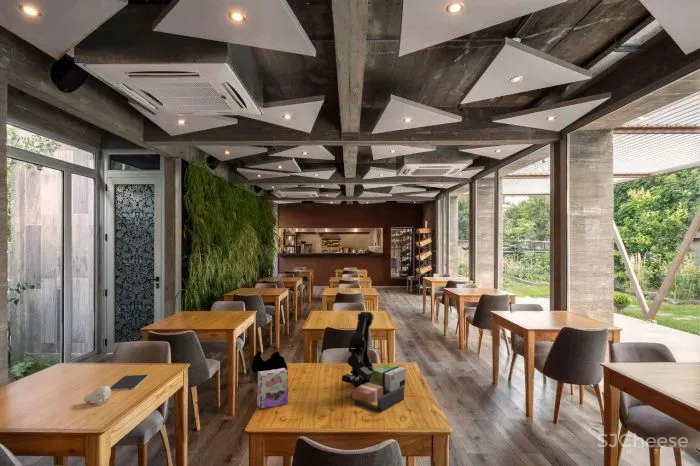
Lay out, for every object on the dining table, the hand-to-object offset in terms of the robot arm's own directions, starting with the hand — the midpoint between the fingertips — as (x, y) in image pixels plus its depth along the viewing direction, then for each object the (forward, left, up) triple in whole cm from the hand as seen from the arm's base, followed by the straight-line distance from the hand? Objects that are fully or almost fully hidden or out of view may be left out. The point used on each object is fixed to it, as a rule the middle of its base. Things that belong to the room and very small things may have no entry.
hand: (357, 391), depth 206 cm
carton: (+7, 0, -2) cm, 7 cm away
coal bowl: (-43, -23, -2) cm, 49 cm away
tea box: (+13, +20, +4) cm, 24 cm away
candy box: (-23, -37, -2) cm, 44 cm away
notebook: (-109, -70, -2) cm, 129 cm away
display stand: (+14, 0, -2) cm, 14 cm away
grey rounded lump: (-90, -92, -2) cm, 129 cm away
